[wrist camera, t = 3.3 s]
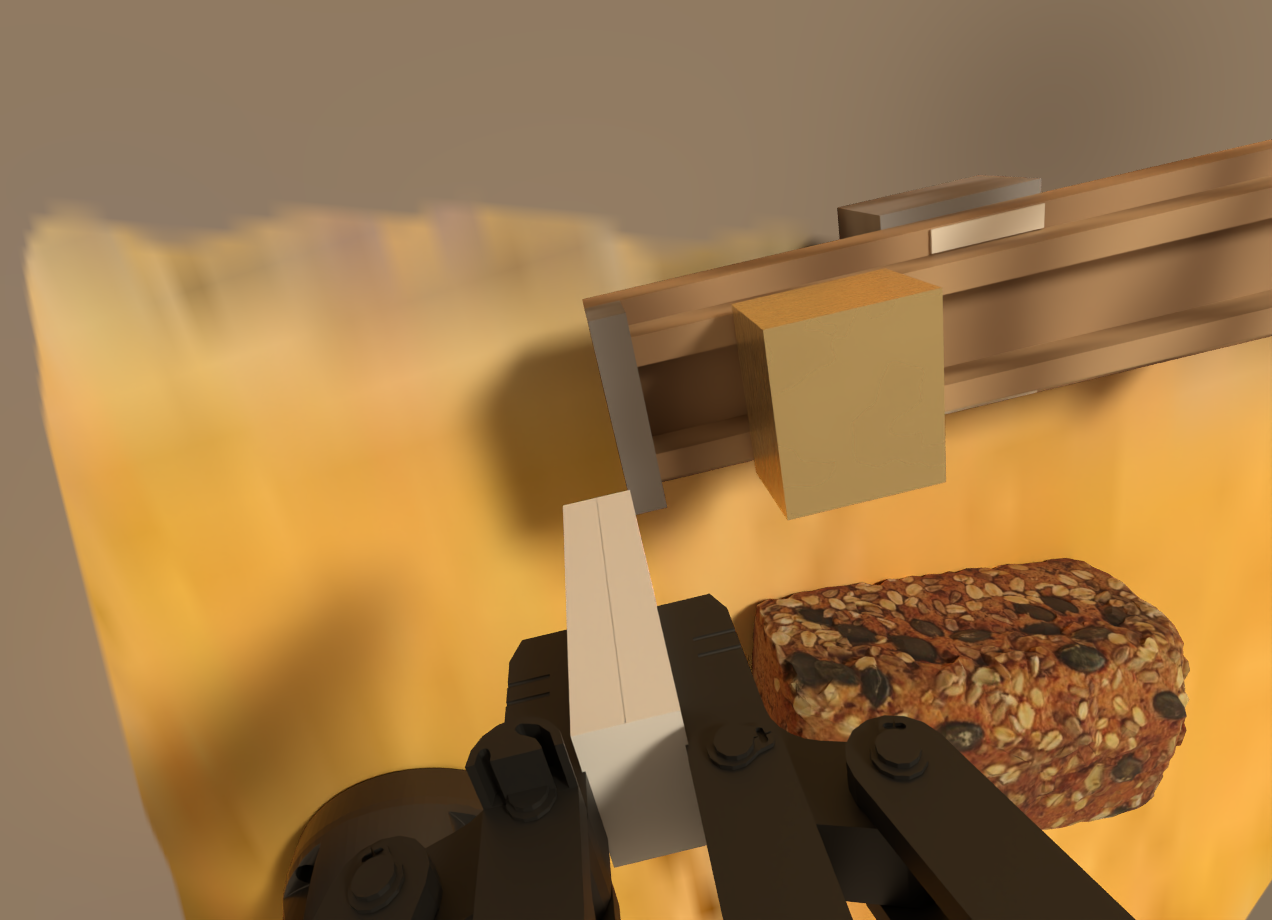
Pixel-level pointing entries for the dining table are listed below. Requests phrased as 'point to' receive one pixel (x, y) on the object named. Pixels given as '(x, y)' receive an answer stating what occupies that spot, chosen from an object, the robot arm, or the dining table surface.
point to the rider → (844, 389)
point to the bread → (992, 677)
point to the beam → (962, 297)
